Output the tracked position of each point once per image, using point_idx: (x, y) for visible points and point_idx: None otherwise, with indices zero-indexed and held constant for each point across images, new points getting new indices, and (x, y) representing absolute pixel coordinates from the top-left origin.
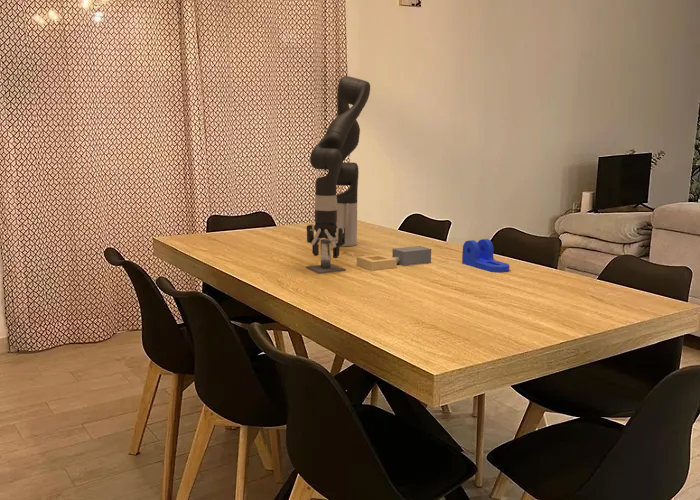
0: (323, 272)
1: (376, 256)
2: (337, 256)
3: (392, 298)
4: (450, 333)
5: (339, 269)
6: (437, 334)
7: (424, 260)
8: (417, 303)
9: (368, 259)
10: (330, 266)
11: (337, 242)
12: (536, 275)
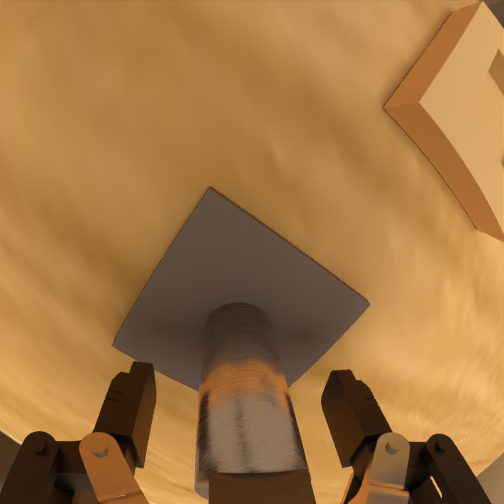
0: None
1: (493, 57)
2: (348, 376)
3: (469, 438)
4: (482, 462)
5: (339, 331)
6: None
7: None
8: (493, 428)
9: (494, 179)
10: (272, 329)
11: (392, 471)
12: None
